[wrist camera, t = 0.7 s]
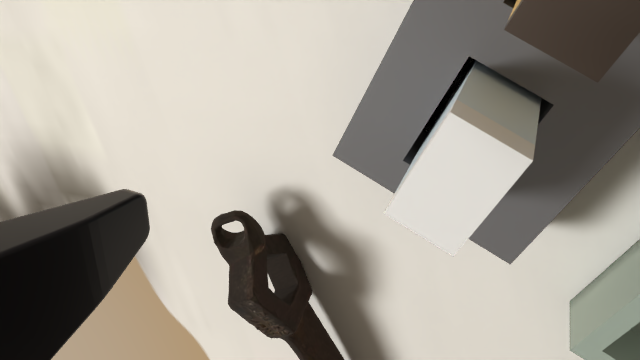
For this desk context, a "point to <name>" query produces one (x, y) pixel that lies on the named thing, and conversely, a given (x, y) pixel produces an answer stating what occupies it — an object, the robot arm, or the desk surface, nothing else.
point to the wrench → (287, 278)
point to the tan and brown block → (578, 30)
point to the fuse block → (520, 67)
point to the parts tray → (609, 312)
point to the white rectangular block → (468, 159)
